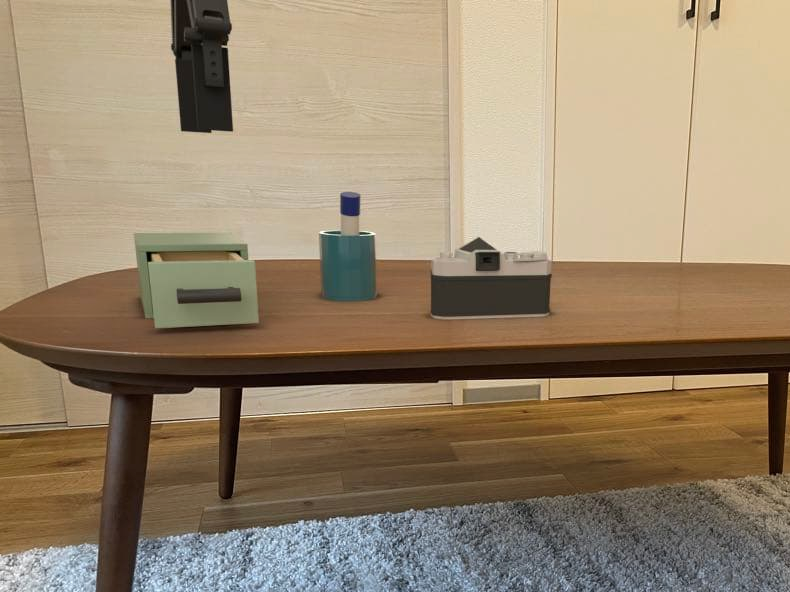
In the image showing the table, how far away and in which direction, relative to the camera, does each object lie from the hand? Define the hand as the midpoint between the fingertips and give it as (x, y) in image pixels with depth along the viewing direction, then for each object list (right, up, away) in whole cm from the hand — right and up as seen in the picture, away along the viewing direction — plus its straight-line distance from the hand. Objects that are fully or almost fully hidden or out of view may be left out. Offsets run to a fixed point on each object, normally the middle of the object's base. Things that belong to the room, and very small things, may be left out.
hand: (205, 132), depth 71 cm
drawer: (-7, -15, +16) cm, 23 cm away
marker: (+4, -9, +37) cm, 38 cm away
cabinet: (-13, -13, +26) cm, 32 cm away
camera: (+24, -13, +30) cm, 41 cm away
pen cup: (+4, -10, +37) cm, 39 cm away
